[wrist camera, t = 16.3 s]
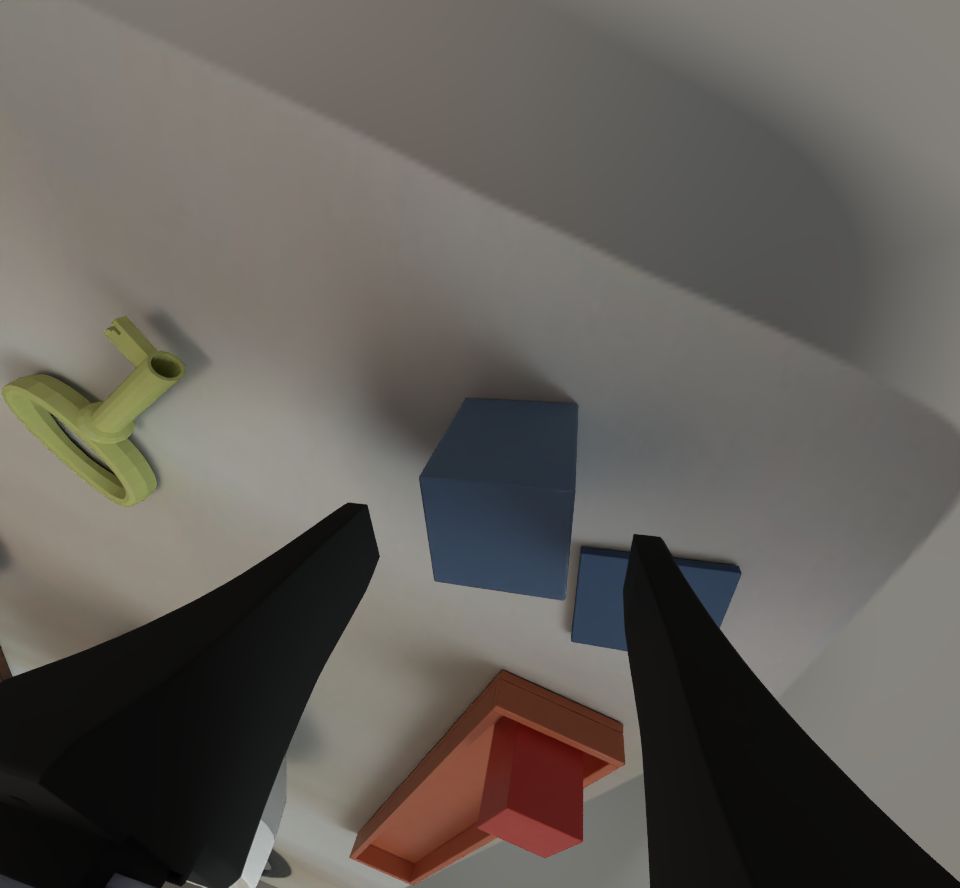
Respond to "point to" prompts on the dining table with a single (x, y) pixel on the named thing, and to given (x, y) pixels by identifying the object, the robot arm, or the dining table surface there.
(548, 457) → the blue block
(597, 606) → the blue mat
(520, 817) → the red block
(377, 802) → the dining table surface
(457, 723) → the red tray
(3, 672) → the contraption on wooden base
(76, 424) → the key
